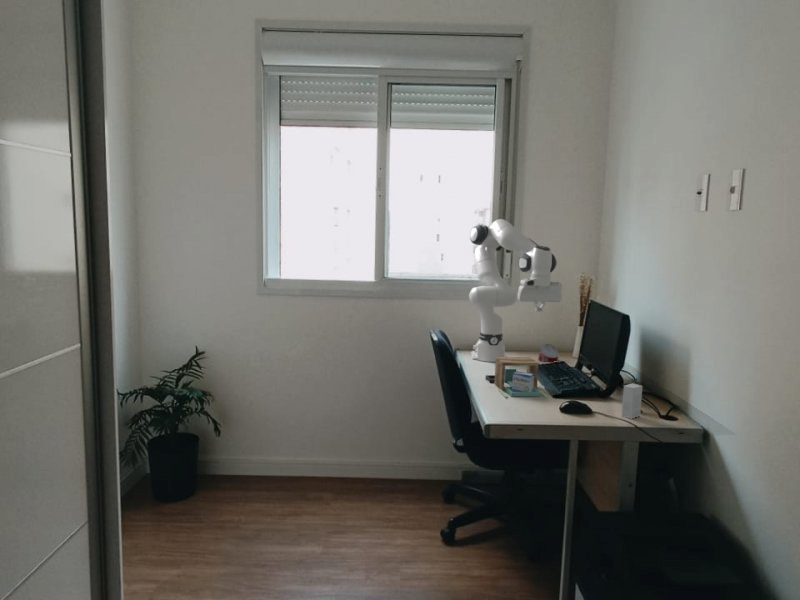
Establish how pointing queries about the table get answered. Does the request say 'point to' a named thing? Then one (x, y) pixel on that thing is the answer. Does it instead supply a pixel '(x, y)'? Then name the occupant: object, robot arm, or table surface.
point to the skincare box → (632, 400)
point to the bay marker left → (502, 393)
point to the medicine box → (522, 382)
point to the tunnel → (514, 361)
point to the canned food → (548, 353)
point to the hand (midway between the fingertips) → (538, 311)
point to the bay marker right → (542, 393)
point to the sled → (510, 381)
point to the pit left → (490, 378)
